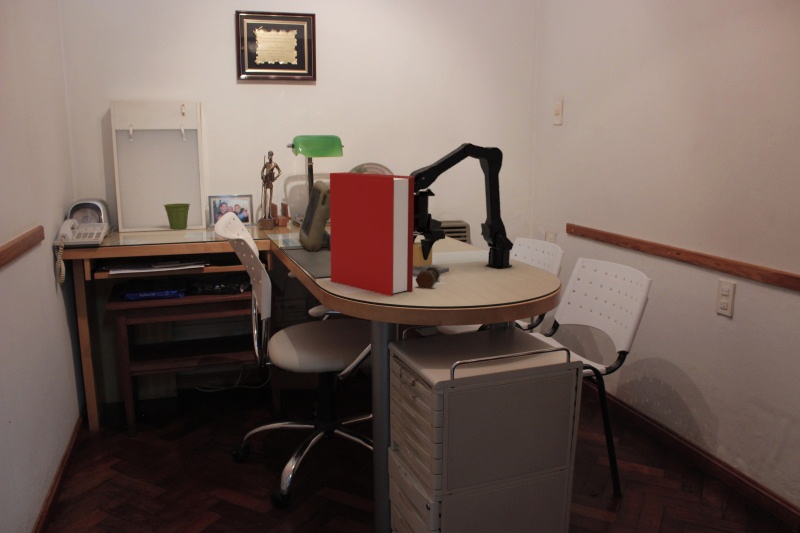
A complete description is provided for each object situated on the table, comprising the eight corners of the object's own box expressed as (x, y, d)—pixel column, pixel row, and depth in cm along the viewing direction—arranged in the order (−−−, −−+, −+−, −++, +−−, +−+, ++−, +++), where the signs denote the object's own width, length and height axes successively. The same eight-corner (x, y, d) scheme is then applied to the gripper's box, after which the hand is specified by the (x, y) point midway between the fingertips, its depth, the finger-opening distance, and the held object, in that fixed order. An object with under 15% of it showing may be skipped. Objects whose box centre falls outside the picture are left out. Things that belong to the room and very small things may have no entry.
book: (412, 291, 181) (414, 176, 175) (392, 296, 175) (393, 177, 169) (348, 276, 199) (347, 172, 193) (327, 280, 194) (326, 173, 188)
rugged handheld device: (292, 239, 272) (291, 180, 267) (325, 238, 276) (324, 179, 272) (307, 252, 242) (306, 185, 237) (343, 250, 246) (342, 184, 241)
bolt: (436, 284, 199) (427, 293, 185) (423, 275, 200) (412, 284, 185) (446, 268, 198) (437, 276, 183) (432, 259, 198) (422, 267, 184)
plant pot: (184, 226, 310) (183, 202, 308) (195, 228, 301) (194, 204, 299) (160, 228, 302) (159, 204, 300) (171, 231, 294) (169, 206, 291)
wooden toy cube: (432, 264, 209) (432, 244, 208) (418, 266, 205) (418, 246, 204) (418, 261, 214) (419, 242, 212) (405, 263, 210) (405, 243, 208)
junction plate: (448, 271, 209) (449, 256, 208) (417, 276, 200) (417, 261, 199) (419, 264, 220) (419, 250, 219) (388, 269, 210) (388, 254, 209)
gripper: (458, 211, 204) (456, 259, 207) (417, 206, 218) (417, 252, 221) (432, 213, 197) (431, 263, 200) (392, 208, 211) (392, 255, 214)
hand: (418, 258), depth 209 cm, fingers closed on wooden toy cube, 6 cm apart
